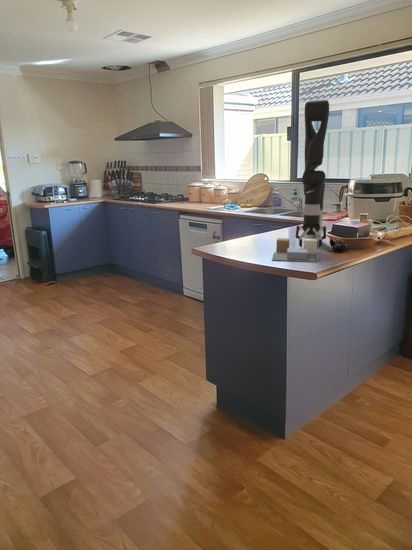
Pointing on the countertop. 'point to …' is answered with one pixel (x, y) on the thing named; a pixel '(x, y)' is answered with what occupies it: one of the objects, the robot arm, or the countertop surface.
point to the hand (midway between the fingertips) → (310, 247)
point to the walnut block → (282, 244)
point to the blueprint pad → (284, 257)
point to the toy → (336, 245)
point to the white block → (310, 245)
